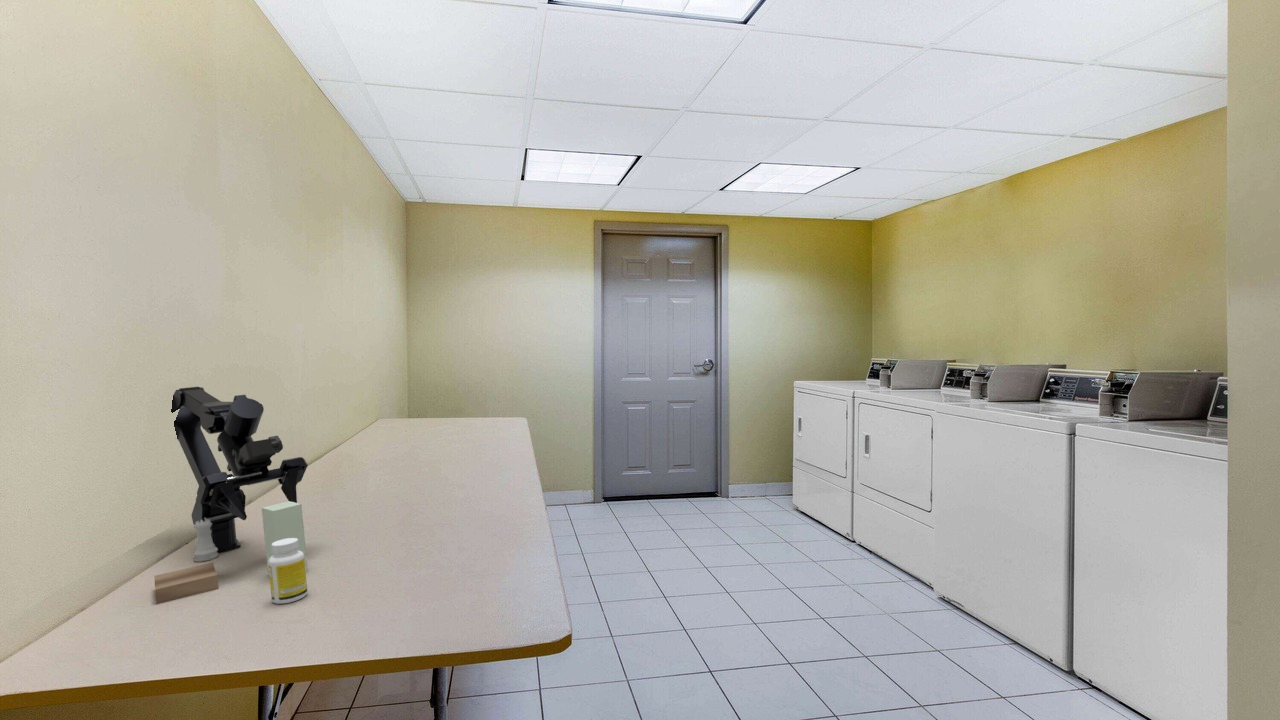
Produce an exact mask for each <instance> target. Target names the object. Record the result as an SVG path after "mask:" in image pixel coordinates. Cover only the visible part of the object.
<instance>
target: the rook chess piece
mask: <svg viewBox="0 0 1280 720" xmlns="http://www.w3.org/2000/svg"><path fill="white" fill-rule="evenodd" d="M195 523H196V525H194V526H193V528H194V530H196V533H195V535H196V539H197V540H196V548H195V550H194V552H193V557H194V558H193V561H195V562H196V563H203V562H207V561H211V560H212V561H213V560H214V559H216V558H217V557H218V556H219V553H220V552H217V551H218V548H217V547H215V544H214V543H213V541H212V537H211V532H212V531H211V530H210V527H211V526H212V523H211V522H210V519H205V521H204V522H203V520H200V522H199V521H196V522H195Z"/></svg>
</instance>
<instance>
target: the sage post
mask: <svg viewBox="0 0 1280 720" xmlns="http://www.w3.org/2000/svg"><path fill="white" fill-rule="evenodd" d="M261 517H262V524H263V527H262V528H263V535H264V545H265V546H264V547H265V556H266V566H267V567H266V568H267V576H268V575H269V566H268V561H269V559H270V557H271V556H273V555H274V553H272V543H274V542H276V541H278V540H282V539H287V538H297V539H298V544H299V546H298V548H297V550H299V551H301V552H303V554H304V559H305V571H307V572H308V569H309V567H308V559H307V549H306V548H307V547H306V538H305V527H304V519H303V518H304V515H303V505H302V503H299V502H297V503H295V502H290V501H288V500H287V501H284V502H280V503H275V504H272V505H267V506H264V507H261Z"/></svg>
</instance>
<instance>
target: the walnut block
mask: <svg viewBox="0 0 1280 720" xmlns="http://www.w3.org/2000/svg"><path fill="white" fill-rule="evenodd" d="M217 573H218V572H217V570H216V568H215V564H214V562H209V563H205V564H201V565H195V566H191V567H187V568H183V569H178V570H174V571H169V572H165V573H161V574H156V575H154V591H155V592H154V594H155V602H156V603H155V604H156V605H160V604H163V603H168V602H172V601H176V600H179V599H184V598H187V597H191V596H195V595H200V594H203V593H207V592H212V591H215V590H219V582H218V581H219V580H218V574H217Z"/></svg>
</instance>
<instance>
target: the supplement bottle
mask: <svg viewBox="0 0 1280 720" xmlns="http://www.w3.org/2000/svg"><path fill="white" fill-rule="evenodd" d="M298 546H299V544H298V539H297V538H287V539H282V540H278V541H276V542H274V543H272V553H274V555H273V556H271V557H270V559H269V561H268V566H269V576H268V577H269V586H270V594H271V601H272V603H274V604H279V605H280V604H281V605H282V604H283V605H284V604H289V603H293V602H297V601H298V600H302V599H303V598H304V597H306V596H307V595H308V583H307V572H306V571H305V559H304V554H303V552H301V551H299V550H297V548H298Z"/></svg>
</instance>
